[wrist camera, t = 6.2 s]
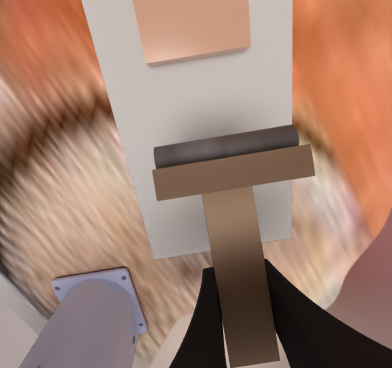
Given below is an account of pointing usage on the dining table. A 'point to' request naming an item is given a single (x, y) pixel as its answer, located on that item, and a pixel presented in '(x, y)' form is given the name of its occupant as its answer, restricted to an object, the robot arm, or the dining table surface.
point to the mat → (195, 112)
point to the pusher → (236, 221)
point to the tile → (191, 29)
